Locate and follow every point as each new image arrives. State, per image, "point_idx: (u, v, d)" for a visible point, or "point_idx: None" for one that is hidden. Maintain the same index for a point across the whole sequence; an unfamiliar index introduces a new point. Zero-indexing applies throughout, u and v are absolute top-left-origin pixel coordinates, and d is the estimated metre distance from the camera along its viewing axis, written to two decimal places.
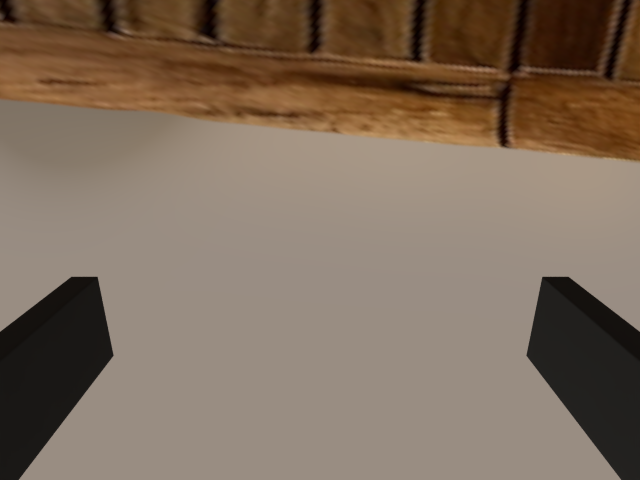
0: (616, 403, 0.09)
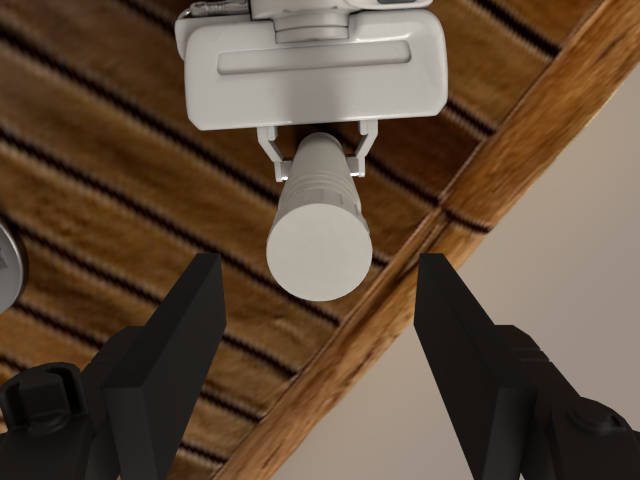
0: (447, 353, 0.11)
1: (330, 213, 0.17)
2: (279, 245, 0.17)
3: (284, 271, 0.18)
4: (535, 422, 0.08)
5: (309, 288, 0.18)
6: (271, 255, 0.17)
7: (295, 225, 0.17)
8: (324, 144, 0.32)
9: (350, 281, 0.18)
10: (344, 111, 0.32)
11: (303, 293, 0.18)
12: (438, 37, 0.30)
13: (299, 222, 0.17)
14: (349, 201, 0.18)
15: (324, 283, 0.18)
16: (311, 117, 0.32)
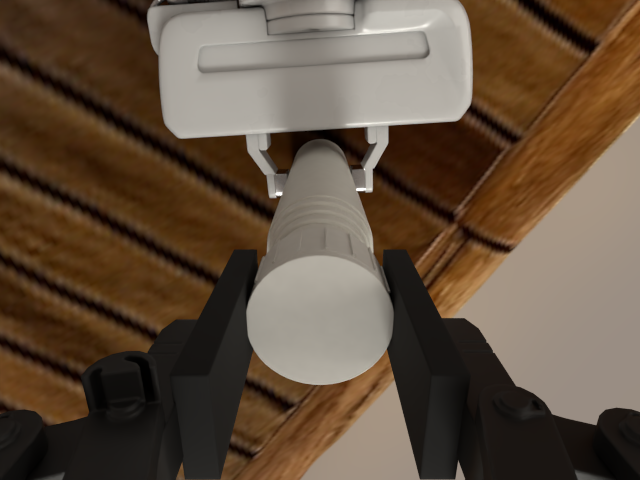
0: (400, 346, 0.11)
1: (336, 268, 0.12)
2: (263, 312, 0.12)
3: (271, 346, 0.12)
4: (466, 409, 0.08)
5: (306, 368, 0.13)
6: (252, 325, 0.12)
7: (286, 285, 0.12)
8: (325, 155, 0.27)
9: (363, 359, 0.13)
10: (349, 116, 0.27)
11: (297, 375, 0.13)
12: (462, 27, 0.25)
13: (291, 281, 0.12)
14: (361, 245, 0.13)
15: (327, 362, 0.13)
16: (310, 123, 0.27)
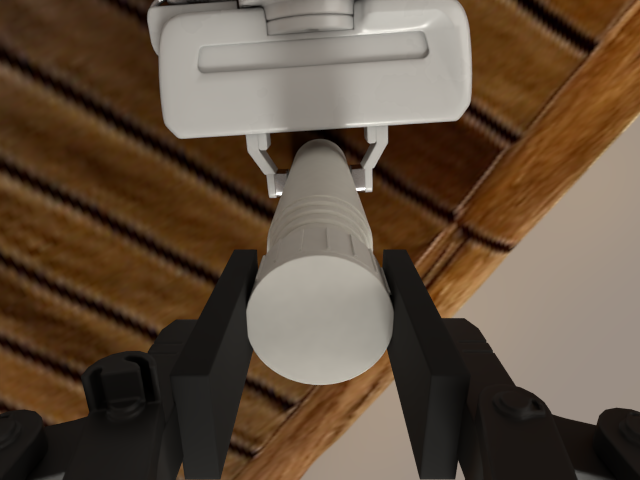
0: (400, 346, 0.11)
1: (261, 304, 0.12)
2: (300, 368, 0.13)
3: (339, 368, 0.13)
4: (466, 409, 0.08)
5: (370, 341, 0.12)
6: (314, 379, 0.13)
7: (274, 347, 0.13)
8: (325, 155, 0.27)
9: (368, 288, 0.12)
10: (349, 116, 0.27)
11: (377, 349, 0.13)
12: (462, 27, 0.25)
13: (270, 342, 0.12)
14: (271, 251, 0.14)
15: (366, 322, 0.12)
16: (309, 123, 0.27)
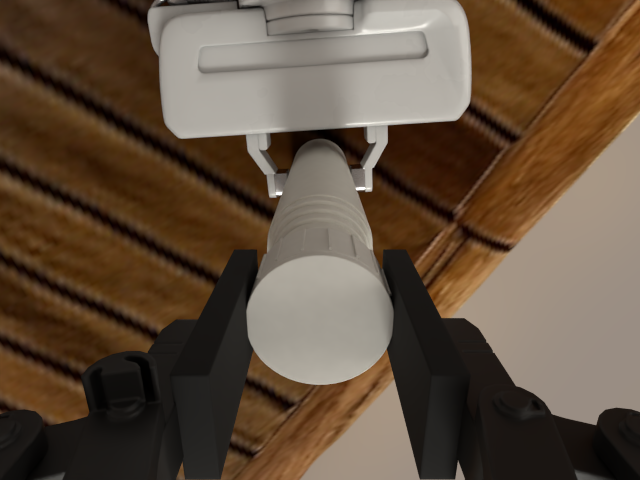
0: (400, 346, 0.11)
1: (292, 369, 0.13)
2: (369, 346, 0.12)
3: (375, 311, 0.12)
4: (466, 409, 0.08)
5: (347, 279, 0.12)
6: (385, 335, 0.12)
7: (340, 365, 0.13)
8: (325, 155, 0.27)
9: (284, 277, 0.12)
10: (348, 116, 0.27)
11: (358, 274, 0.12)
12: (461, 27, 0.25)
13: (334, 367, 0.13)
14: None
15: (323, 282, 0.12)
16: (309, 123, 0.27)
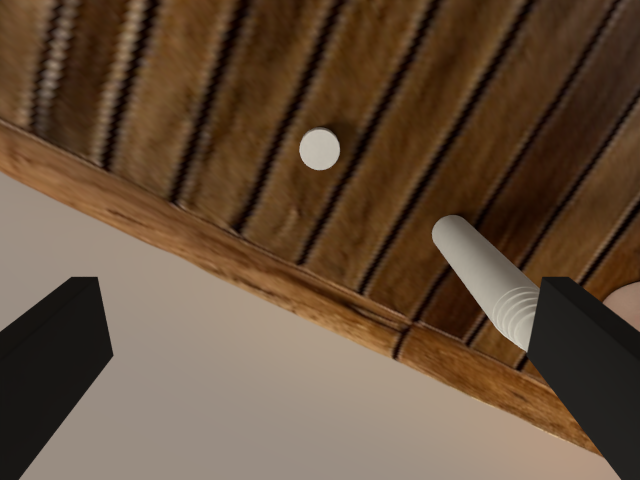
0: (616, 403, 0.09)
1: (330, 137, 0.45)
2: (308, 139, 0.45)
3: (304, 150, 0.46)
4: None
5: (310, 161, 0.46)
6: (303, 142, 0.45)
7: (317, 135, 0.45)
8: None
9: (325, 165, 0.46)
10: None
11: (306, 162, 0.46)
12: None
13: (319, 135, 0.45)
14: (337, 139, 0.47)
15: (316, 161, 0.46)
16: None
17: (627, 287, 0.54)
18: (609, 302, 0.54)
